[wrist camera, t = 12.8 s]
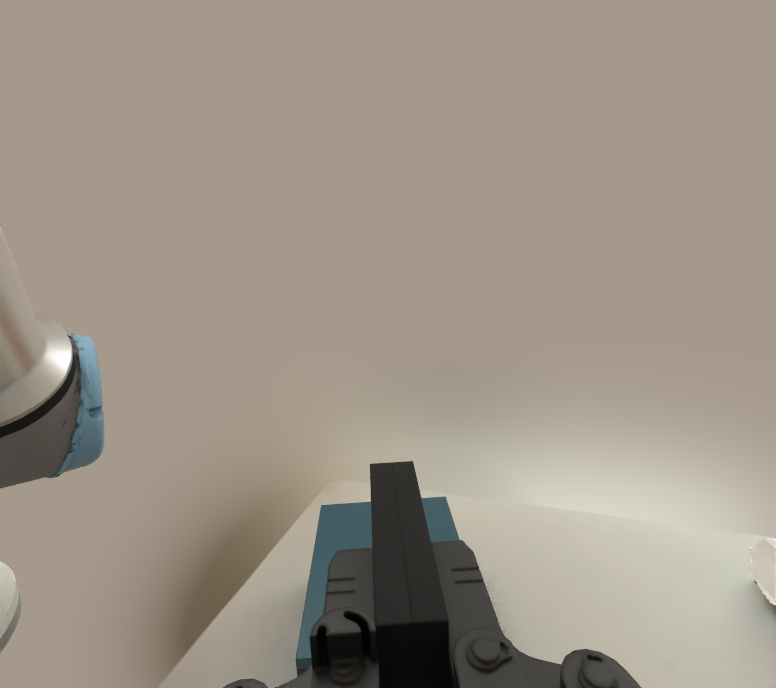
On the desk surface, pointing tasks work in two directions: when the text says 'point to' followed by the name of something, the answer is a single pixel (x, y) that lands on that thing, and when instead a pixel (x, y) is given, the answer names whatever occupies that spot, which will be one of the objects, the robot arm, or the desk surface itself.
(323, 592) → the cover
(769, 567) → the white turtle figurine
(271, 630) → the desk surface
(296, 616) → the desk surface
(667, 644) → the desk surface
